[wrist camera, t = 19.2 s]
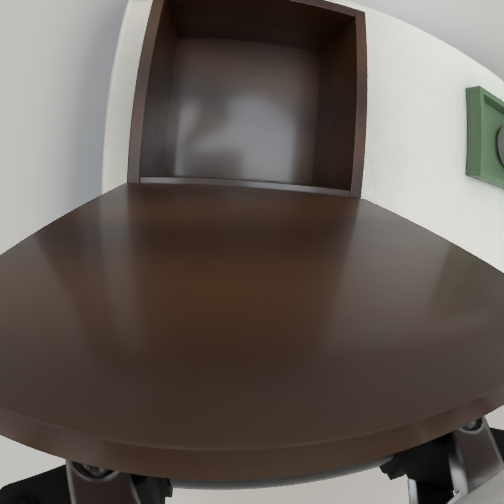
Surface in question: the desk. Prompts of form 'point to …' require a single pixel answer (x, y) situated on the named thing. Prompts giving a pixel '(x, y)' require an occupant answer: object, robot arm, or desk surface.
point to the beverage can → (501, 144)
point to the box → (251, 96)
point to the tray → (484, 136)
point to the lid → (243, 336)
